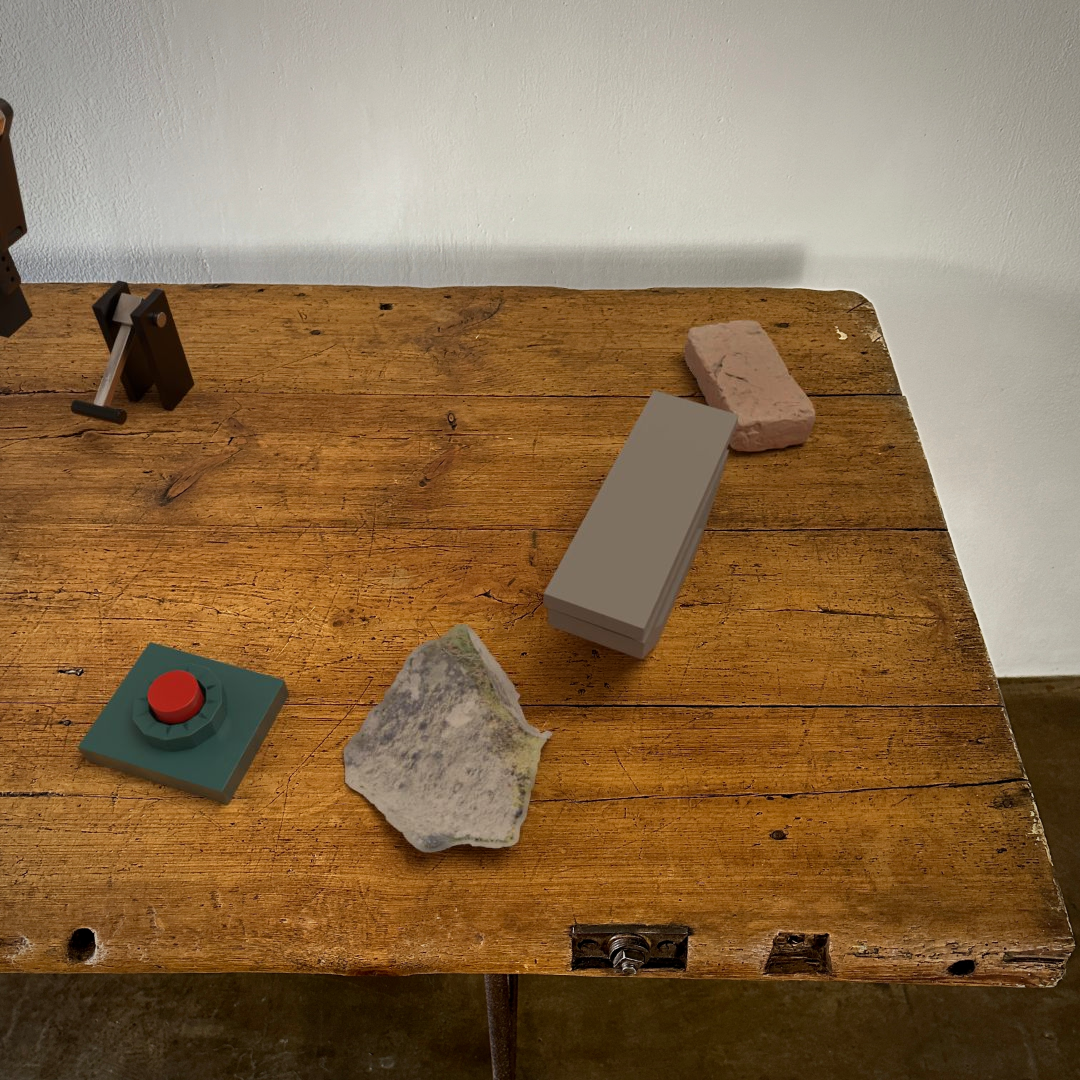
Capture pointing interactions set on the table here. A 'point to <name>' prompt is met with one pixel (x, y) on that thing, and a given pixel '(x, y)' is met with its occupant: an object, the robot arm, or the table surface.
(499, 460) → the table surface
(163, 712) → the button
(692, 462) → the sharpening stone
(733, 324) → the brick
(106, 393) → the lever
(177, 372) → the bracket
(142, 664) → the control block
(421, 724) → the rock fragment
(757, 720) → the table surface
